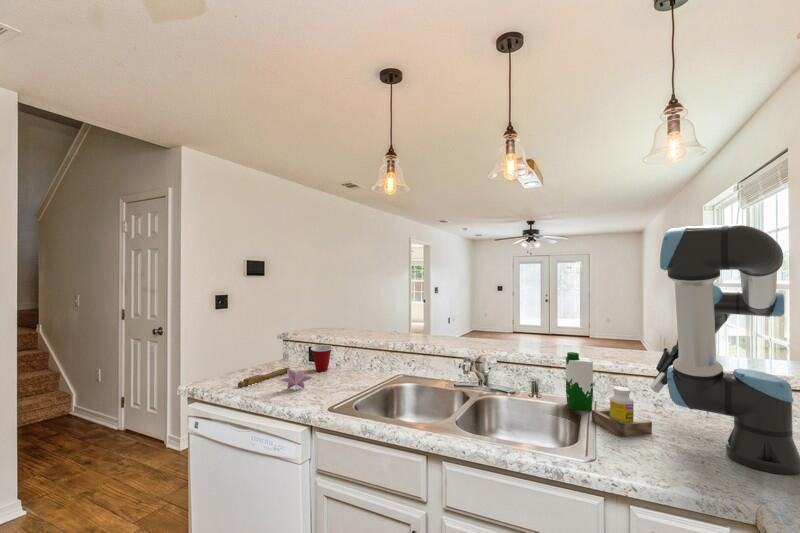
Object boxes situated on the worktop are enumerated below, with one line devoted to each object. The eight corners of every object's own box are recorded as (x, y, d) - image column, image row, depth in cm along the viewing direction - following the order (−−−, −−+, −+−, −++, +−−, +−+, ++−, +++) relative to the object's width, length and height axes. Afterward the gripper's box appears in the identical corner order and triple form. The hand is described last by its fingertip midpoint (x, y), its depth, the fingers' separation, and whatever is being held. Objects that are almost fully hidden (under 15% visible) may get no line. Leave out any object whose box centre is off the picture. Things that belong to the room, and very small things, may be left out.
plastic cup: (307, 372, 197) (307, 348, 197) (315, 367, 208) (315, 344, 208) (328, 373, 196) (328, 349, 196) (335, 368, 206) (335, 345, 206)
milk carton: (564, 402, 153) (563, 350, 154) (589, 404, 152) (589, 351, 152) (568, 410, 145) (568, 355, 145) (595, 412, 143) (595, 356, 143)
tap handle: (290, 367, 198) (241, 382, 172) (290, 373, 198) (241, 389, 172) (285, 366, 200) (236, 381, 173) (285, 372, 200) (236, 388, 173)
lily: (316, 392, 170) (314, 370, 174) (302, 388, 160) (300, 365, 164) (292, 399, 172) (290, 377, 177) (276, 396, 162) (275, 372, 166)
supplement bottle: (627, 434, 124) (627, 392, 124) (606, 427, 129) (605, 387, 130) (637, 429, 128) (637, 389, 128) (616, 422, 133) (616, 384, 133)
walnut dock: (620, 417, 137) (620, 407, 137) (651, 433, 125) (651, 421, 125) (591, 420, 135) (591, 410, 135) (620, 436, 122) (620, 425, 122)
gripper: (719, 349, 131) (677, 403, 127) (683, 343, 144) (644, 391, 140) (706, 334, 130) (663, 387, 126) (671, 328, 143) (631, 377, 139)
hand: (653, 389), depth 133 cm, fingers closed
